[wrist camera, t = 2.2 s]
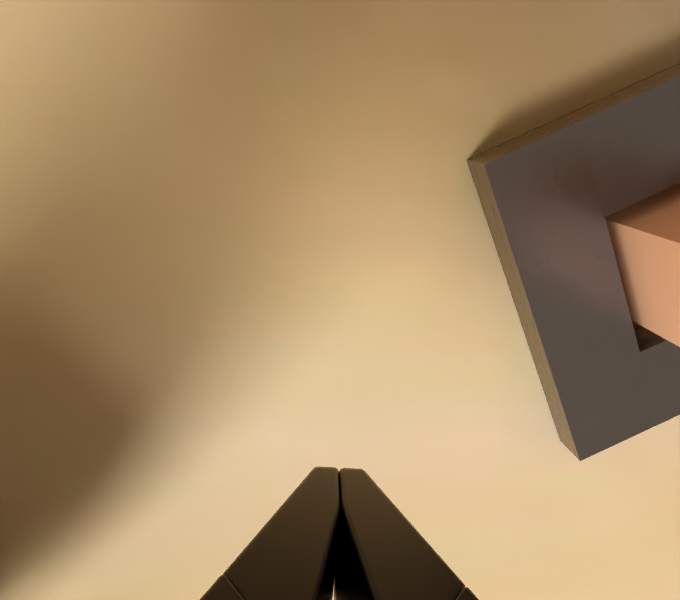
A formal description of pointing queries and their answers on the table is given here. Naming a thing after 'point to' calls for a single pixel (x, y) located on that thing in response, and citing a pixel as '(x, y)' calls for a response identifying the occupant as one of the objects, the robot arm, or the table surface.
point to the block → (650, 260)
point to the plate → (586, 257)
